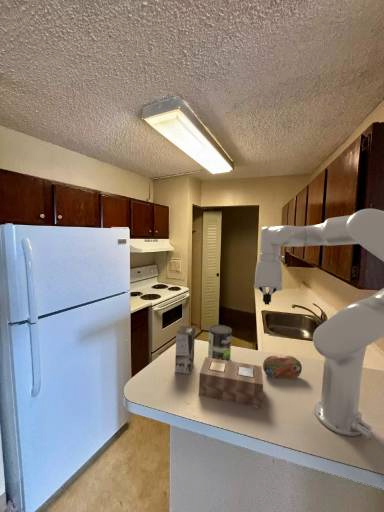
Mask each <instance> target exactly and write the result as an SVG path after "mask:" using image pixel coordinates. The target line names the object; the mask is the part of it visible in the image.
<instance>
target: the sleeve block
mask: <svg viewBox="0 0 384 512" xmlns="http://www.w3.org/2000/svg"><path fill="white" fill-rule="evenodd" d="M212 362H216V363H222V364H225V373H222V372H217V371H211V370H210V367H211V363H212ZM239 367H244V368H250V369H253V378H251V377H245V376H239V375H238V372H239ZM198 377H199V378H198V396H201V397H206V398H211V399H217V400H219V401H220V400H222V401H227V402H231V403H234V404H235V403H237V404H241V405H245V406H249V407H255V408H260V409H262V408H263V396H264V378H263V366H262V365H256V364H250V363H244V362H238V361H232V360H230V361H226V360H220V359H214V358H208V356H206V357H204V360H203V362H202V365H201V368H200V371H199V376H198Z"/></svg>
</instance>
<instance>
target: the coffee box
mask: <svg viewBox="0 0 384 512" xmlns="http://www.w3.org/2000/svg"><path fill="white" fill-rule="evenodd" d="M175 334H176V335H175V337H176V338H175V339H176V340H175V358H174V359H175V361H174V363H175V365H174V373H180V374H187V375H190V374H191V371H192V368H193V365H194V363H195V343H196V342H195V339H196V337H195V336H196V326H188V325H187V326H186V325H181V326H180V327H179V329H178V330H177V332H176V333H175Z"/></svg>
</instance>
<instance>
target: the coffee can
mask: <svg viewBox="0 0 384 512" xmlns="http://www.w3.org/2000/svg"><path fill="white" fill-rule="evenodd" d="M232 332H233V329H232V328H231V327H229V326H228V325H223V324H214V325H213V324H212V325H210V326H209V328H208V348H207V349H208V350H207V352H208V353H207V357H208V358H214V359H220V360H226V361H231V353H232V352H231V350H232V349H231V348H232V336H233V335H232Z"/></svg>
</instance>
